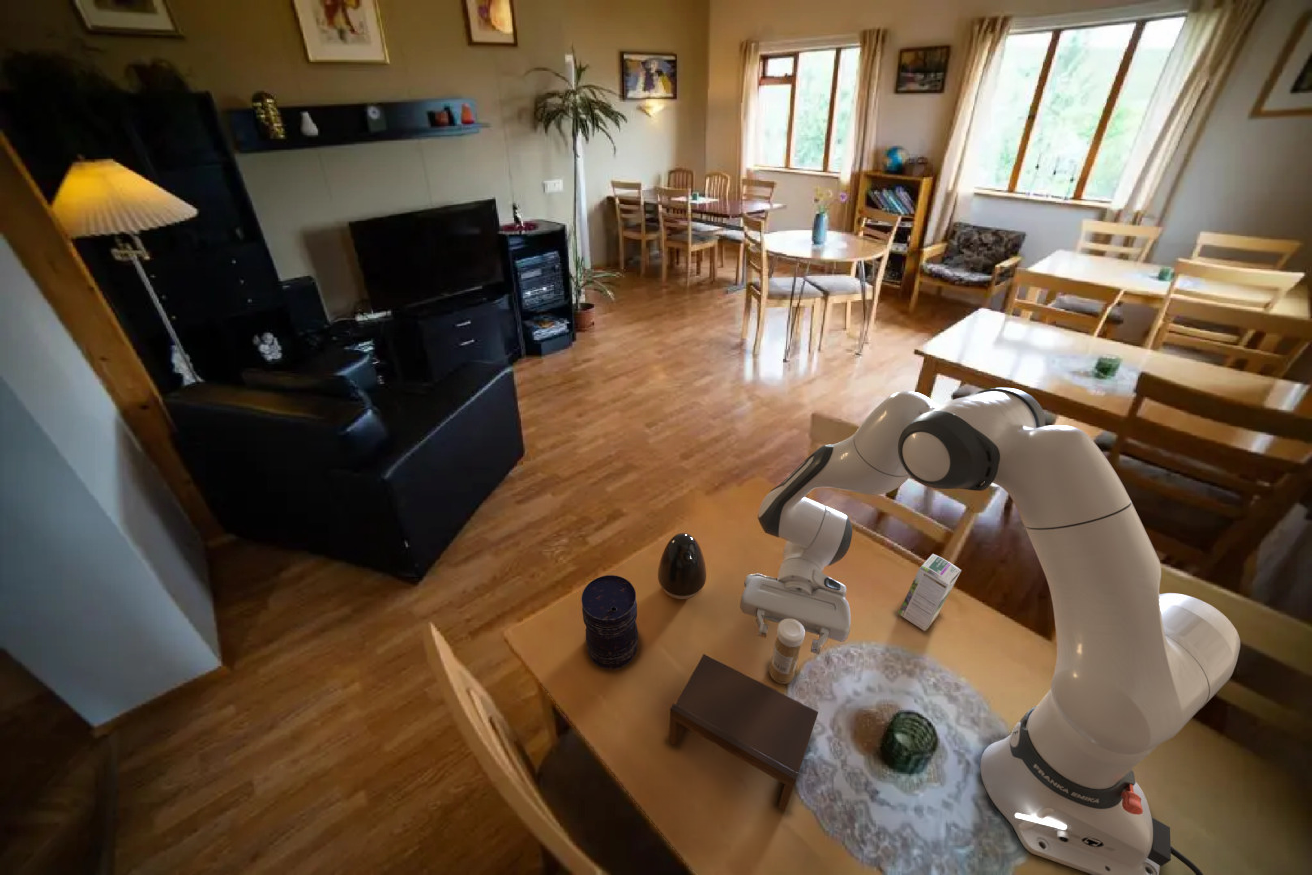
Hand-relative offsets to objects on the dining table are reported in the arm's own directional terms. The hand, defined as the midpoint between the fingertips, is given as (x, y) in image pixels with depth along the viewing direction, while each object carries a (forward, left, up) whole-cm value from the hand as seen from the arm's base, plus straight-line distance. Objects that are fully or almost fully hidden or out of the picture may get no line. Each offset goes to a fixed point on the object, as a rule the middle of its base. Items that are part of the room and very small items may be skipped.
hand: (788, 643), depth 95 cm
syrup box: (-20, -24, -7) cm, 32 cm away
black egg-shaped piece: (+25, -6, -7) cm, 27 cm away
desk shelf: (+2, +17, -7) cm, 18 cm away
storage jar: (+30, +13, -7) cm, 33 cm away
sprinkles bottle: (0, +2, -7) cm, 7 cm away
